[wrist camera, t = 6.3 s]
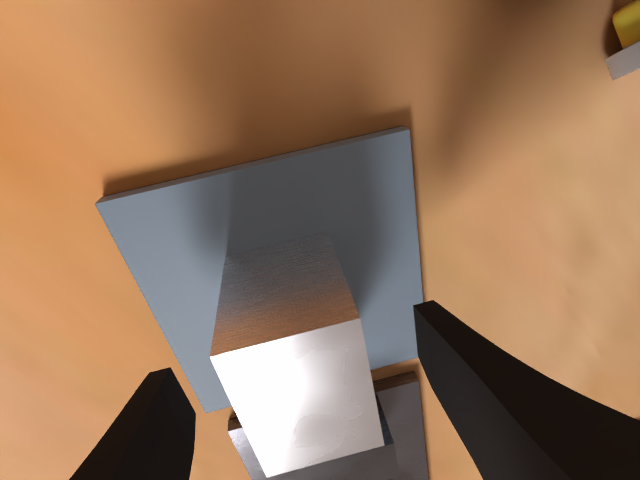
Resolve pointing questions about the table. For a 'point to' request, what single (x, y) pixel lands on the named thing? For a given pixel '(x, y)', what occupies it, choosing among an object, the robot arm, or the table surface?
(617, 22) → the reed diffuser
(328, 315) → the steel block
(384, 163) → the pad
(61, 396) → the table surface
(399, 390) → the vise
